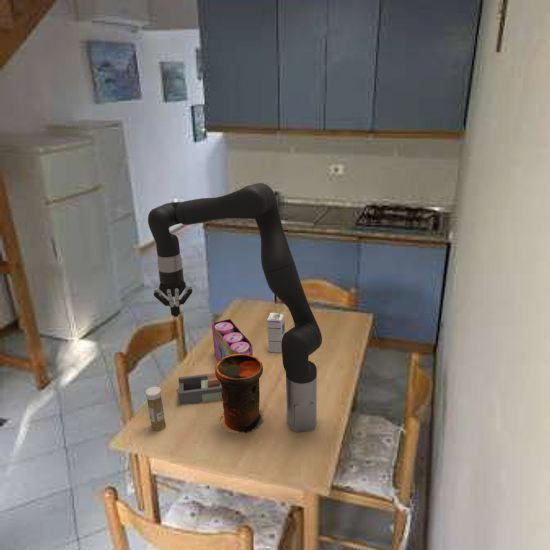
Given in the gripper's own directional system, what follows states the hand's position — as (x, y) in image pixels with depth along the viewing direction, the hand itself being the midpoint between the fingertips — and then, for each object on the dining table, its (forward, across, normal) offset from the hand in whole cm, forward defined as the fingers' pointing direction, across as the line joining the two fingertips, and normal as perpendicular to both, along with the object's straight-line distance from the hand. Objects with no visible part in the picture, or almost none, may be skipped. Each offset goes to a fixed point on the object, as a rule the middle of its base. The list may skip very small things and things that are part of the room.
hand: (176, 315), depth 163 cm
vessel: (+27, +18, -23) cm, 40 cm away
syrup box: (+27, +36, +16) cm, 48 cm away
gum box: (+27, +18, +8) cm, 34 cm away
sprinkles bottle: (+27, -8, -21) cm, 35 cm away
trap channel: (+27, +10, -7) cm, 30 cm away
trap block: (+24, +10, -7) cm, 27 cm away
